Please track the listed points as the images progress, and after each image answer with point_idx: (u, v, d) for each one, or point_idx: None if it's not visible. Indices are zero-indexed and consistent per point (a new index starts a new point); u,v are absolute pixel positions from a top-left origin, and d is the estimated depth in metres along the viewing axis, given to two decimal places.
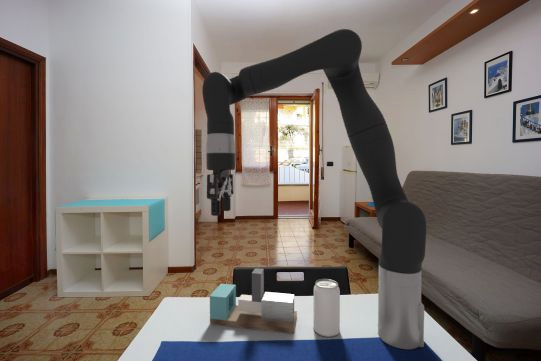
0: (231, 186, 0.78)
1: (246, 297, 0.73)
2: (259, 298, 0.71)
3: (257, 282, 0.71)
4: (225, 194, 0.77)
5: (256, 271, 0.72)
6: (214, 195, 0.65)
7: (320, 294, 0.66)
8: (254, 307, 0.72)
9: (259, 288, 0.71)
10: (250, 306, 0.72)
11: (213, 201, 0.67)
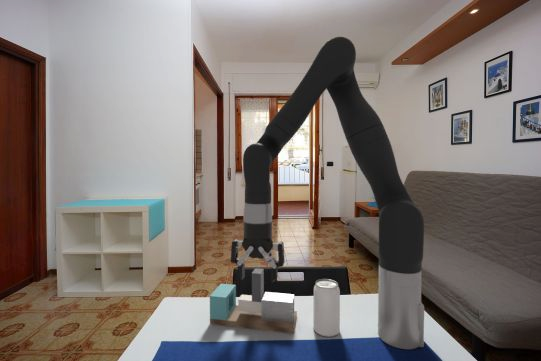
0: (237, 252, 0.75)
1: (246, 297, 0.73)
2: (259, 298, 0.71)
3: (257, 282, 0.71)
4: None
5: (256, 271, 0.72)
6: (284, 261, 0.72)
7: (320, 294, 0.66)
8: (254, 307, 0.72)
9: (259, 288, 0.71)
10: (250, 306, 0.72)
11: (277, 267, 0.72)
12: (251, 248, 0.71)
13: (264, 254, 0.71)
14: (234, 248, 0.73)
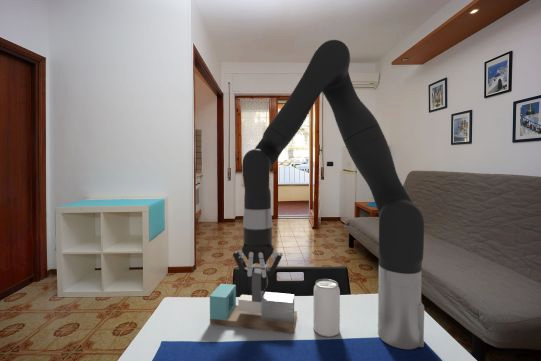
0: (244, 261, 0.74)
1: (246, 297, 0.73)
2: (259, 298, 0.71)
3: (257, 282, 0.71)
4: None
5: (256, 271, 0.72)
6: None
7: (320, 294, 0.66)
8: (254, 307, 0.72)
9: (259, 288, 0.71)
10: (250, 306, 0.72)
11: (267, 276, 0.72)
12: (251, 253, 0.71)
13: (261, 261, 0.71)
14: (238, 259, 0.72)
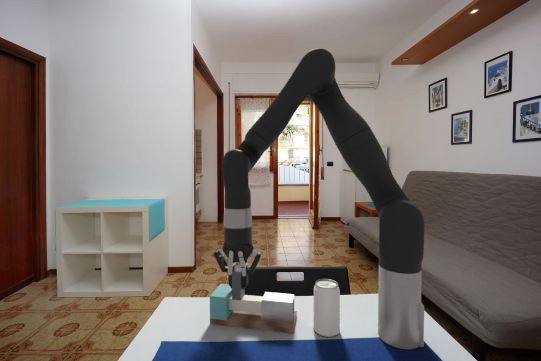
0: (225, 260, 0.75)
1: None
2: (239, 296, 0.72)
3: (237, 280, 0.72)
4: (232, 270, 0.74)
5: (236, 270, 0.73)
6: (254, 268, 0.73)
7: (320, 294, 0.66)
8: (234, 305, 0.73)
9: (239, 286, 0.72)
10: (230, 305, 0.73)
11: (247, 275, 0.73)
12: (231, 252, 0.72)
13: (241, 259, 0.72)
14: (218, 258, 0.73)
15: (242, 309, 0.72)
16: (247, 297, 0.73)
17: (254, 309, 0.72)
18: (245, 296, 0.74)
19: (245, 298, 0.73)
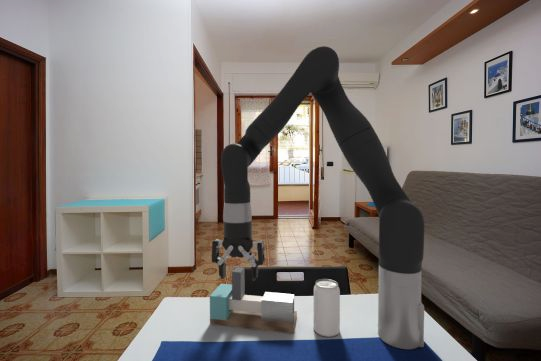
0: (218, 251, 0.75)
1: None
2: (239, 296, 0.72)
3: (237, 280, 0.72)
4: None
5: (236, 270, 0.73)
6: (264, 259, 0.73)
7: (320, 294, 0.66)
8: (234, 305, 0.73)
9: (239, 286, 0.72)
10: (230, 305, 0.73)
11: (257, 266, 0.72)
12: (231, 247, 0.72)
13: (244, 253, 0.71)
14: (214, 248, 0.73)
15: (242, 309, 0.72)
16: (247, 297, 0.73)
17: (254, 309, 0.72)
18: (245, 296, 0.74)
19: (245, 298, 0.73)
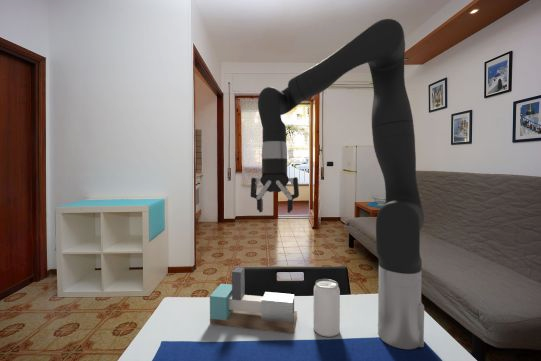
0: (256, 189, 0.83)
1: None
2: (239, 296, 0.72)
3: (237, 280, 0.72)
4: None
5: (236, 270, 0.73)
6: (298, 194, 0.80)
7: (320, 294, 0.66)
8: (234, 305, 0.73)
9: (239, 286, 0.72)
10: (230, 305, 0.73)
11: (292, 200, 0.80)
12: (269, 182, 0.79)
13: (281, 187, 0.79)
14: (253, 184, 0.81)
15: (242, 309, 0.72)
16: (247, 297, 0.73)
17: (254, 309, 0.72)
18: (245, 296, 0.74)
19: (245, 298, 0.73)
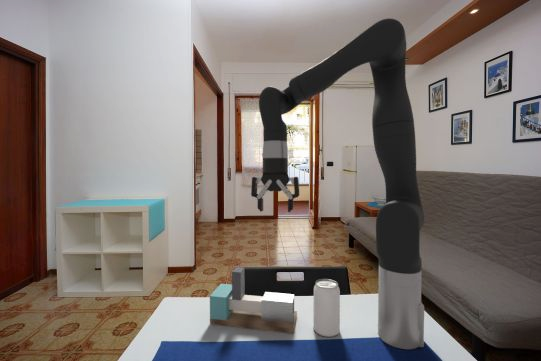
0: (256, 188, 0.83)
1: None
2: (239, 296, 0.72)
3: (237, 280, 0.72)
4: None
5: (236, 270, 0.73)
6: None
7: (320, 294, 0.66)
8: (234, 305, 0.73)
9: (239, 286, 0.72)
10: (230, 305, 0.73)
11: None
12: (270, 181, 0.79)
13: (282, 186, 0.79)
14: (254, 183, 0.81)
15: (242, 309, 0.72)
16: (247, 297, 0.73)
17: (254, 309, 0.72)
18: (245, 296, 0.74)
19: (245, 298, 0.73)
